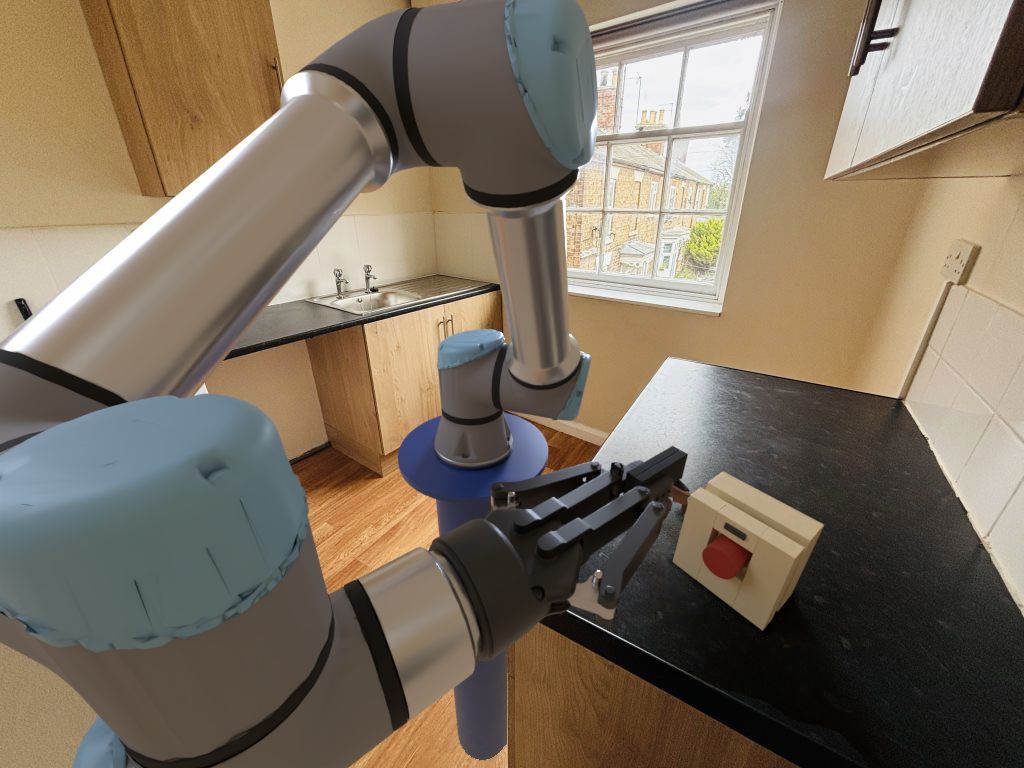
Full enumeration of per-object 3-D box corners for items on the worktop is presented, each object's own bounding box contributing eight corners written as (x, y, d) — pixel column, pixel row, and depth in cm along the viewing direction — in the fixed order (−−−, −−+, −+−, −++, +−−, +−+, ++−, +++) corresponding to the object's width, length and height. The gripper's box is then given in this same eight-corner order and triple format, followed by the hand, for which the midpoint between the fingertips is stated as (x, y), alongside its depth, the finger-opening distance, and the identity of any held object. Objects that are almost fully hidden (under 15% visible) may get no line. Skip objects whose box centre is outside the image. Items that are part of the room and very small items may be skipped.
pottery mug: (613, 489, 70) (641, 452, 68) (661, 519, 69) (690, 482, 67) (620, 526, 58) (653, 482, 56) (677, 562, 58) (712, 519, 56)
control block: (671, 563, 56) (688, 495, 50) (703, 535, 60) (723, 471, 55) (761, 632, 47) (794, 560, 42) (791, 594, 52) (824, 524, 46)
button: (698, 563, 50) (705, 540, 48) (715, 548, 52) (723, 525, 50) (730, 586, 47) (739, 562, 45) (747, 569, 49) (756, 545, 47)
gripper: (411, 570, 31) (616, 459, 43) (515, 743, 21) (738, 536, 34) (400, 494, 27) (625, 398, 40) (517, 658, 18) (763, 464, 31)
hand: (677, 462), depth 37 cm, fingers closed
